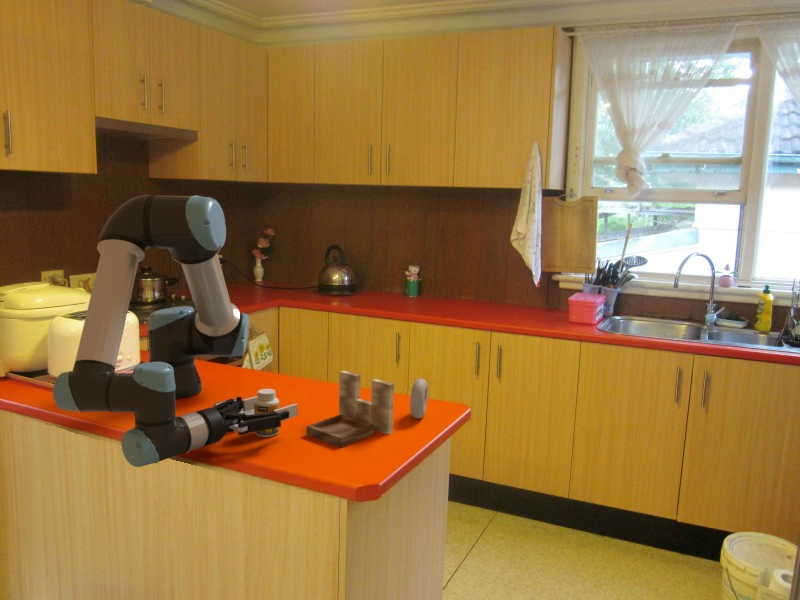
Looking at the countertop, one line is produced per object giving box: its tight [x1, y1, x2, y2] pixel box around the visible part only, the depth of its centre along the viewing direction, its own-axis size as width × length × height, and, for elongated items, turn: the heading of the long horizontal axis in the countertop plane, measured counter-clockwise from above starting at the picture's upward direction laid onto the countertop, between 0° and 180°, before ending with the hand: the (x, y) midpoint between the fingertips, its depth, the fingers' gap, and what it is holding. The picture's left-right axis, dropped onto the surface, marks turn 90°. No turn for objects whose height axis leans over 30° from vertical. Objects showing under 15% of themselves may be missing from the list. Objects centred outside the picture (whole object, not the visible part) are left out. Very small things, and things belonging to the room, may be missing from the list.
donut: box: [409, 378, 429, 419], centre depth 164 cm, size 10×3×10 cm, turn 169°
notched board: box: [338, 370, 395, 435], centre depth 157 cm, size 16×2×12 cm, turn 51°
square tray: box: [306, 414, 375, 448], centre depth 152 cm, size 11×11×2 cm
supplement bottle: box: [254, 388, 280, 438], centre depth 150 cm, size 6×6×10 cm
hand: (280, 404), depth 154 cm, fingers open, 10 cm apart
